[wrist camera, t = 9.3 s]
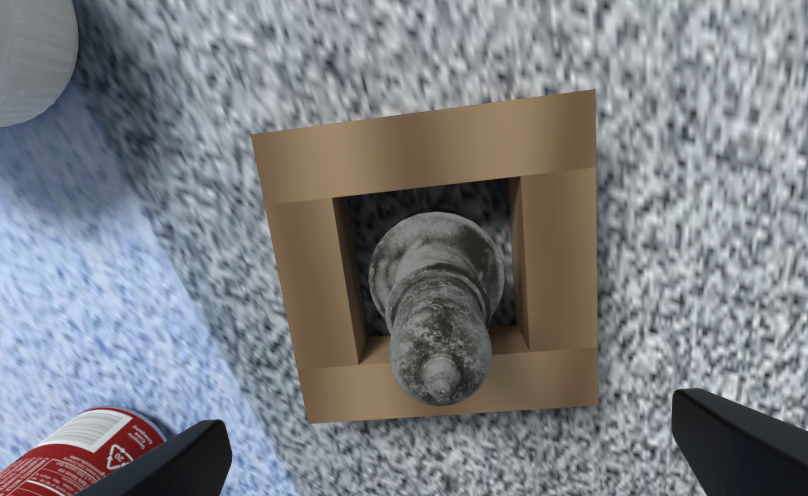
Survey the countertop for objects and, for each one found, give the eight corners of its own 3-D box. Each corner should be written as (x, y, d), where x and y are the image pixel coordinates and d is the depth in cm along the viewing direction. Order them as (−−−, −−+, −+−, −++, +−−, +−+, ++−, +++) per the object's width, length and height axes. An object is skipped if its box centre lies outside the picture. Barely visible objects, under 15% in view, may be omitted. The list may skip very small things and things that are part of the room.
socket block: (569, 99, 18) (595, 89, 15) (575, 371, 21) (598, 405, 19) (277, 137, 20) (250, 134, 17) (323, 388, 23) (308, 423, 20)
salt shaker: (367, 295, 21) (291, 468, 10) (393, 188, 20) (343, 237, 8) (473, 324, 21) (526, 531, 10) (507, 219, 20) (619, 312, 8)
